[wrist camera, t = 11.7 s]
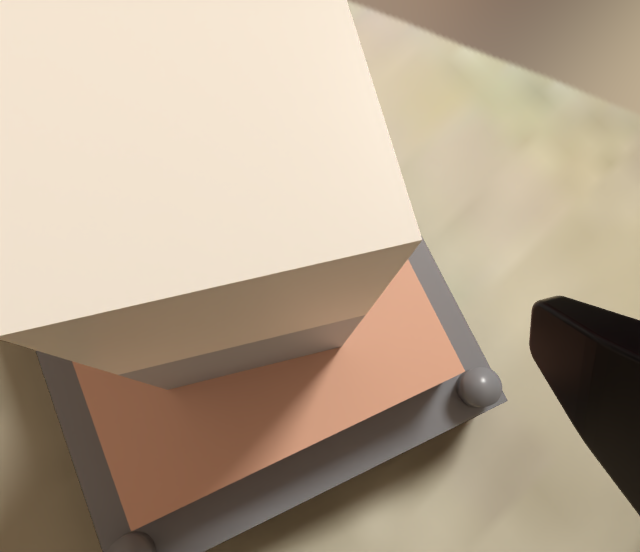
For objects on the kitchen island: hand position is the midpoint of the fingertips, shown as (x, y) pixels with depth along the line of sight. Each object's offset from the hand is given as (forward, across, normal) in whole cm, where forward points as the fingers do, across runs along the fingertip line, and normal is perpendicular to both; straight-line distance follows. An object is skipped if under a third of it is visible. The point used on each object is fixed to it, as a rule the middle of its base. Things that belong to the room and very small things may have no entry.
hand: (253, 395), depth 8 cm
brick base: (+11, 0, +6) cm, 12 cm away
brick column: (+8, 0, +3) cm, 8 cm away
